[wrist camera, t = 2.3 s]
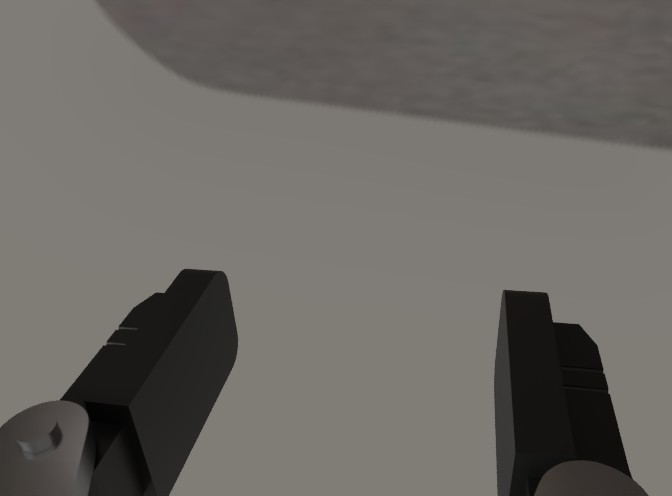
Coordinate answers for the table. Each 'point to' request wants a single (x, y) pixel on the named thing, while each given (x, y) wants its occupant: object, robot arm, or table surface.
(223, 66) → the table surface
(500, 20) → the table surface
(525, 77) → the table surface
